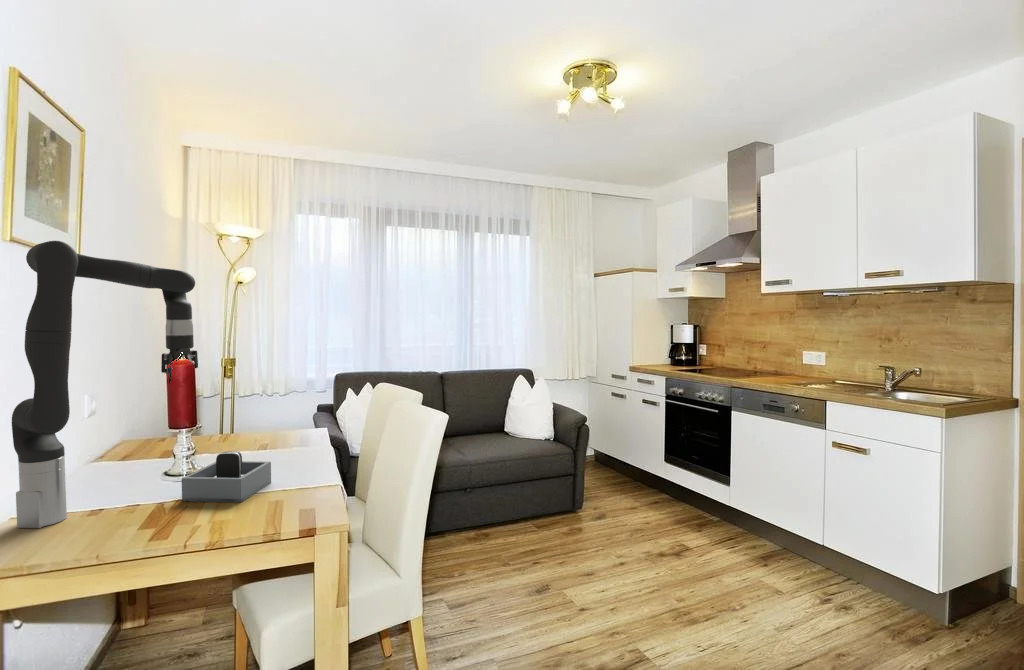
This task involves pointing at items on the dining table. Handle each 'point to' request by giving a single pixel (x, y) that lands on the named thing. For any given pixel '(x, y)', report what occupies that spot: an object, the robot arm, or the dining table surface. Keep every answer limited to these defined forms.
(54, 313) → the robot arm
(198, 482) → the walled box
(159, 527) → the dining table surface
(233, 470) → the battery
